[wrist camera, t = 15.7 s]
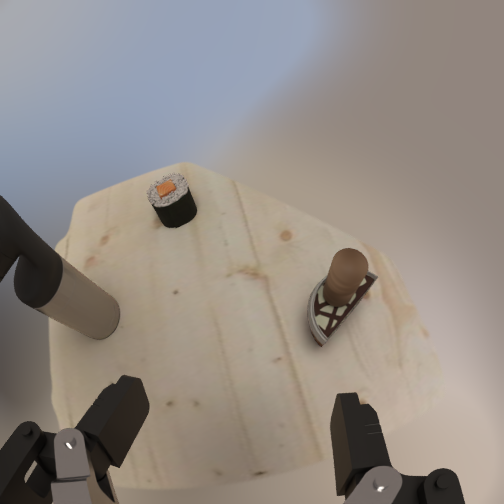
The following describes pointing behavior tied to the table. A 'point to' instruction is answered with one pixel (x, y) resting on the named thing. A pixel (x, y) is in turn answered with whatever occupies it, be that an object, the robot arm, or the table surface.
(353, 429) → the robot arm
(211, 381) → the table surface
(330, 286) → the walnut cylinder
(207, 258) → the table surface
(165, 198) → the sushi
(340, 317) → the food container
